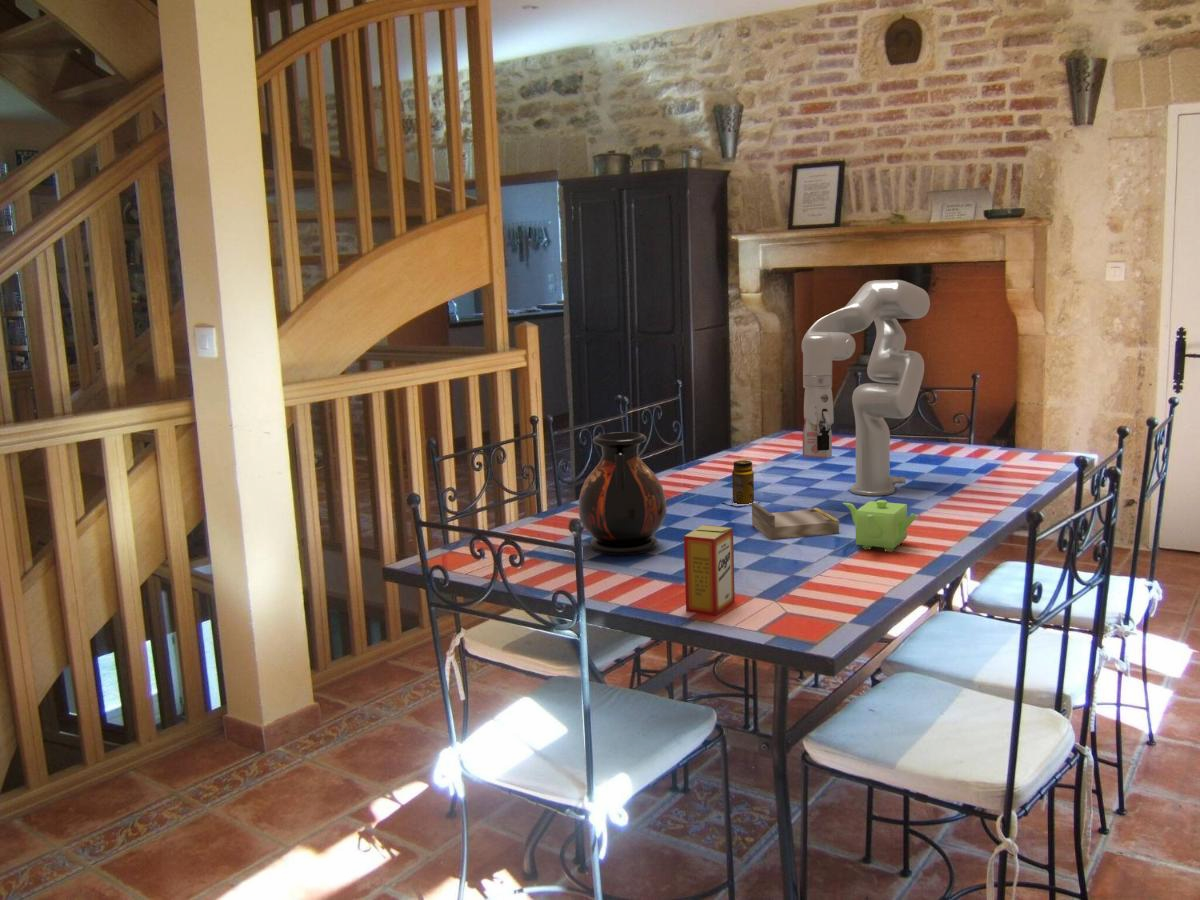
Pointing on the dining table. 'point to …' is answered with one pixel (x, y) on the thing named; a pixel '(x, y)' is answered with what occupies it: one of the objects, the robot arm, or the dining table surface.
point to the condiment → (743, 482)
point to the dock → (793, 523)
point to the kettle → (881, 524)
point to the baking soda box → (709, 569)
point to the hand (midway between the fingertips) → (817, 447)
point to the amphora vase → (622, 498)
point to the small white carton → (814, 442)
